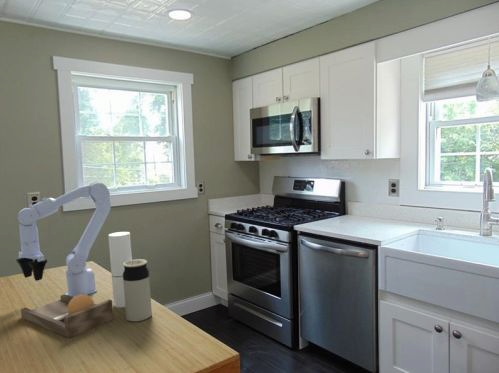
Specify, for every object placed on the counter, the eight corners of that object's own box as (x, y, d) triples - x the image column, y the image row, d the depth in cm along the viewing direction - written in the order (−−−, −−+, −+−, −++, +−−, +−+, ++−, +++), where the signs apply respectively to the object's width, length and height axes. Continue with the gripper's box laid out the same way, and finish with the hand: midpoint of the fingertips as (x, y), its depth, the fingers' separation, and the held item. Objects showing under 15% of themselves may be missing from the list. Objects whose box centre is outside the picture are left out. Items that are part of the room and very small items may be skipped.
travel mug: (138, 324, 117) (133, 267, 115) (120, 319, 121) (116, 264, 120) (157, 314, 124) (153, 260, 122) (140, 310, 128) (136, 257, 126)
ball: (100, 292, 124) (100, 318, 123) (83, 292, 127) (83, 317, 126) (79, 296, 117) (78, 323, 116) (61, 296, 120) (61, 322, 119)
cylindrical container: (139, 300, 136) (134, 232, 134) (125, 308, 130) (119, 236, 128) (124, 298, 139) (118, 231, 137) (109, 305, 133) (103, 235, 131)
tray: (65, 302, 138) (63, 286, 138) (113, 318, 122) (111, 300, 122) (21, 317, 126) (19, 300, 126) (68, 338, 110) (66, 318, 109)
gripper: (8, 241, 137) (12, 278, 139) (28, 245, 129) (31, 284, 130) (28, 237, 143) (32, 273, 144) (48, 241, 135) (52, 278, 136)
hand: (33, 278), depth 138 cm, fingers open, 7 cm apart
